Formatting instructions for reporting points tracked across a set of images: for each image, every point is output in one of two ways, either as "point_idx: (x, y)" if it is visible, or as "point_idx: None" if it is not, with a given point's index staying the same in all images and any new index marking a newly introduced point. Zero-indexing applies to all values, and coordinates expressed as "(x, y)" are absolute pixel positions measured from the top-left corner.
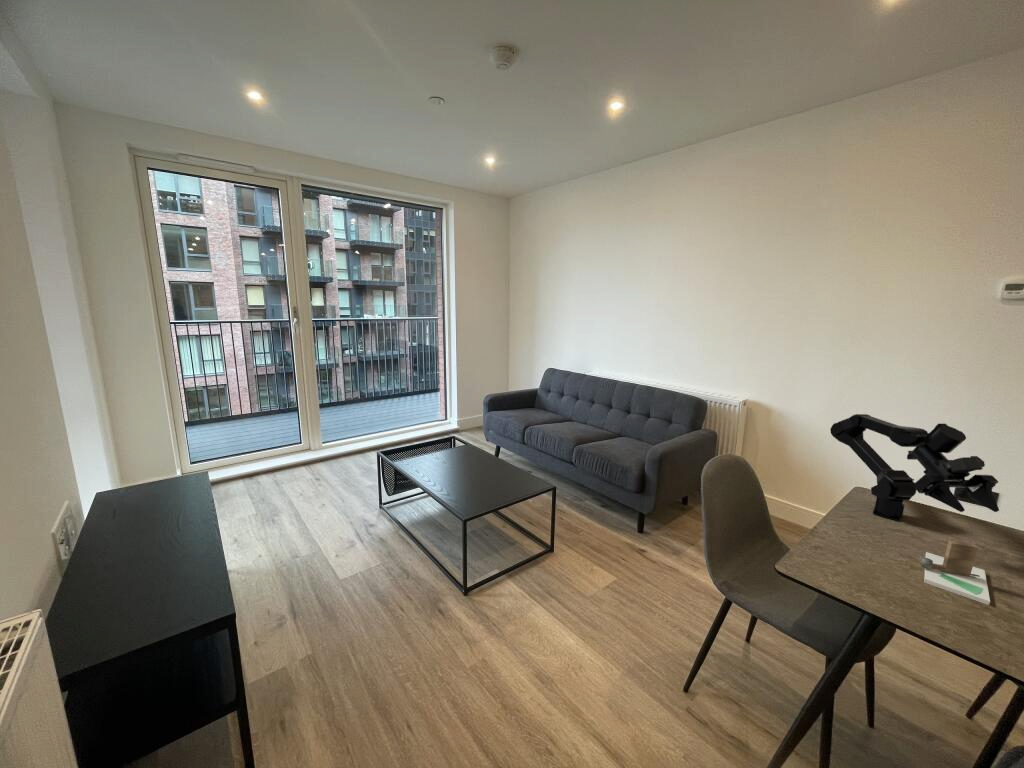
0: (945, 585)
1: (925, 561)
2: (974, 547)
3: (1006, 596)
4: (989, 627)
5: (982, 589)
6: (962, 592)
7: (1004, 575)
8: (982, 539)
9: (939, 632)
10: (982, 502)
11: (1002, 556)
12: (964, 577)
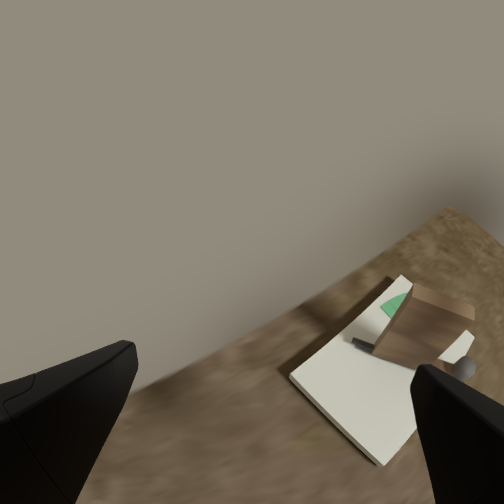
0: None
1: (471, 362)
2: (422, 286)
3: (328, 302)
4: (434, 246)
5: (385, 303)
6: None
7: (225, 368)
8: None
9: (494, 248)
10: (91, 454)
11: None
12: None
